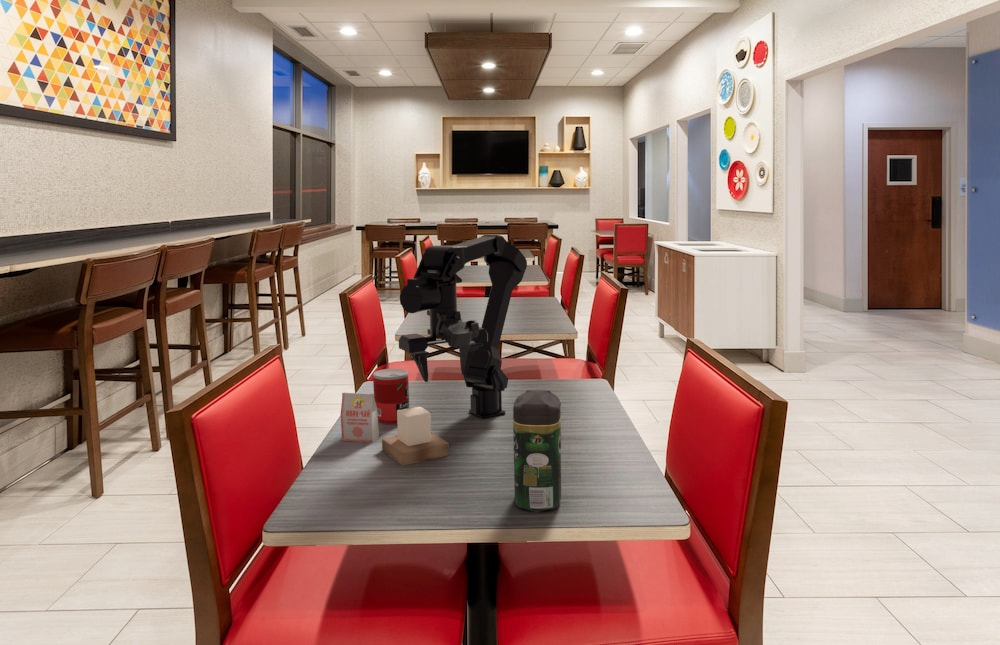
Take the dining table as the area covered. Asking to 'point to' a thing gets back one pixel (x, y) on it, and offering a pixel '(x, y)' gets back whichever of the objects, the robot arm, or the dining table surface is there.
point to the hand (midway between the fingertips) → (445, 378)
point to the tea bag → (359, 417)
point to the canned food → (390, 393)
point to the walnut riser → (415, 449)
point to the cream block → (414, 426)
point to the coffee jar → (537, 450)
